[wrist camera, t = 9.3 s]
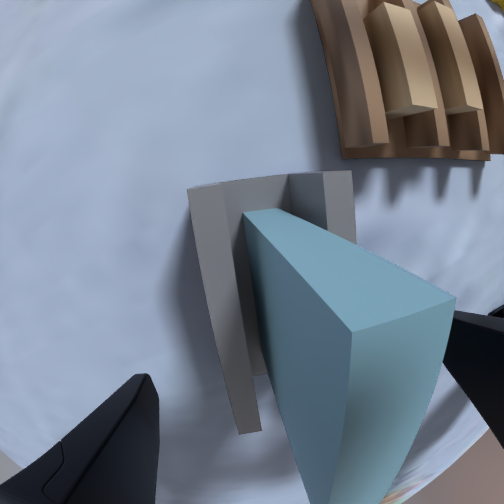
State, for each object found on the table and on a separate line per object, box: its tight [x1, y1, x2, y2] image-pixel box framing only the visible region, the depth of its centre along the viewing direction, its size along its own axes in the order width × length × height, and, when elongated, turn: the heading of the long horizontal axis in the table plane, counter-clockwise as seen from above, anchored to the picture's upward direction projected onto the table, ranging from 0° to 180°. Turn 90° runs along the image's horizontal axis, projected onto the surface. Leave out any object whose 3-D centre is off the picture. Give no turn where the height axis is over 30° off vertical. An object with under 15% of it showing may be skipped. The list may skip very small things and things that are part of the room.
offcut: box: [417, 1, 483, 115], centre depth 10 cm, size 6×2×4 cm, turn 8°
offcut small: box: [363, 2, 438, 119], centre depth 10 cm, size 5×2×4 cm, turn 8°
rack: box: [311, 0, 504, 161], centre depth 10 cm, size 11×12×3 cm
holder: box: [187, 170, 356, 435], centre depth 11 cm, size 10×5×4 cm, turn 8°
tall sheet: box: [243, 208, 456, 504], centre depth 8 cm, size 7×2×10 cm, turn 7°
